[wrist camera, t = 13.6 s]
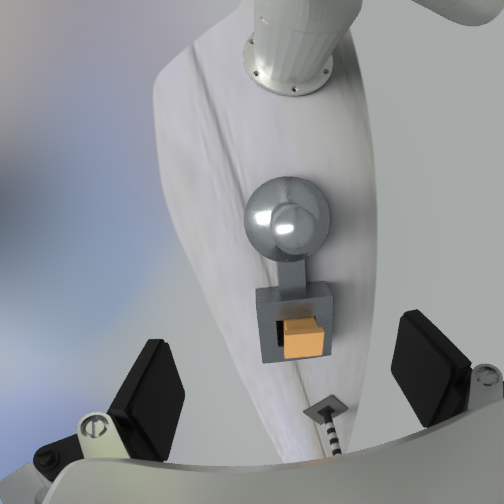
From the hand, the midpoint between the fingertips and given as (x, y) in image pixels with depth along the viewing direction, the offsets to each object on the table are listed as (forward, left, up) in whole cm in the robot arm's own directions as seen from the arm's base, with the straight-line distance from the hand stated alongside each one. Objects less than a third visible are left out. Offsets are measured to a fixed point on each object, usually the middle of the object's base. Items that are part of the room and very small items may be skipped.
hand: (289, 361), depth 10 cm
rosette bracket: (+6, +3, -28) cm, 29 cm away
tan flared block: (+13, +3, -28) cm, 31 cm away
